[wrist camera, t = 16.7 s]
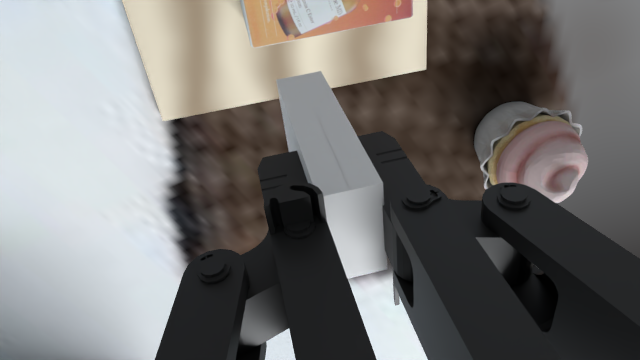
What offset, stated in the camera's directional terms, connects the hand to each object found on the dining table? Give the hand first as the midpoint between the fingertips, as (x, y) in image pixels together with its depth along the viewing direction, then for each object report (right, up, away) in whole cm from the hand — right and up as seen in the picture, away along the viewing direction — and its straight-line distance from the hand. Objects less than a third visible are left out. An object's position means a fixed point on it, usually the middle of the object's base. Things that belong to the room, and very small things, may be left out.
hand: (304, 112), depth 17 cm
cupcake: (+17, +2, +30) cm, 34 cm away
